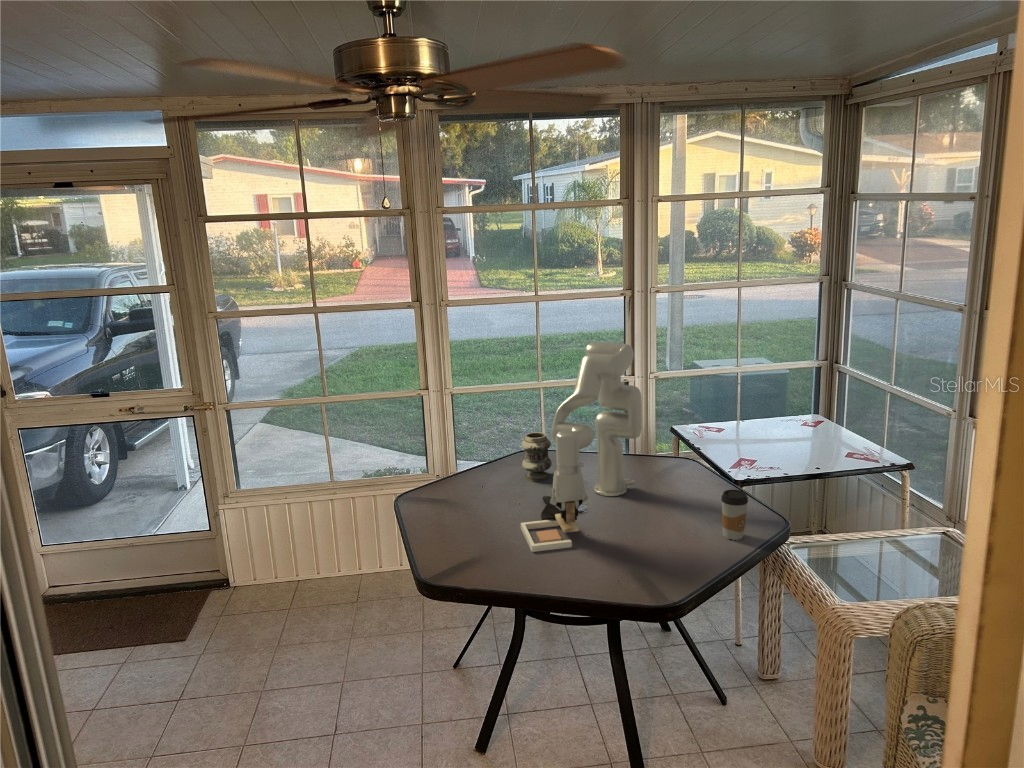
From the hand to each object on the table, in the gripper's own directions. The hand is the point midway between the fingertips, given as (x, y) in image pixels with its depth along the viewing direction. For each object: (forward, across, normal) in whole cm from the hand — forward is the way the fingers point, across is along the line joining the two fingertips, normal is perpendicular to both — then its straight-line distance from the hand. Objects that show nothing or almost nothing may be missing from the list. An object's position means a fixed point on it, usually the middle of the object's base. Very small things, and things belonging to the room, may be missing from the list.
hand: (569, 518), depth 237 cm
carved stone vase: (+7, -1, -54) cm, 55 cm away
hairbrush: (+6, +2, -19) cm, 20 cm away
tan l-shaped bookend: (+2, 0, 0) cm, 2 cm away
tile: (+6, +8, +1) cm, 10 cm away
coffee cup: (+6, -51, +16) cm, 54 cm away
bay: (+5, +8, +1) cm, 10 cm away
